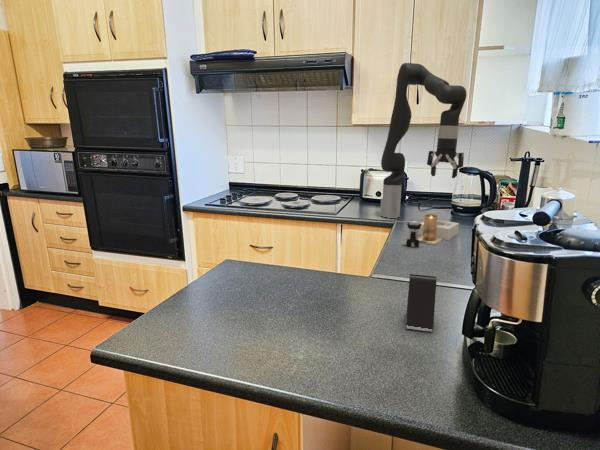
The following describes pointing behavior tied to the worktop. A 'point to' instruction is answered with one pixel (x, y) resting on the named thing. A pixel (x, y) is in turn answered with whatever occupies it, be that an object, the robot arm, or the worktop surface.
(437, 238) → the pad
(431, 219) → the amber cylinder
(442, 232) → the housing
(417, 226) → the black stand
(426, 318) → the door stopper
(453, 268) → the worktop surface
